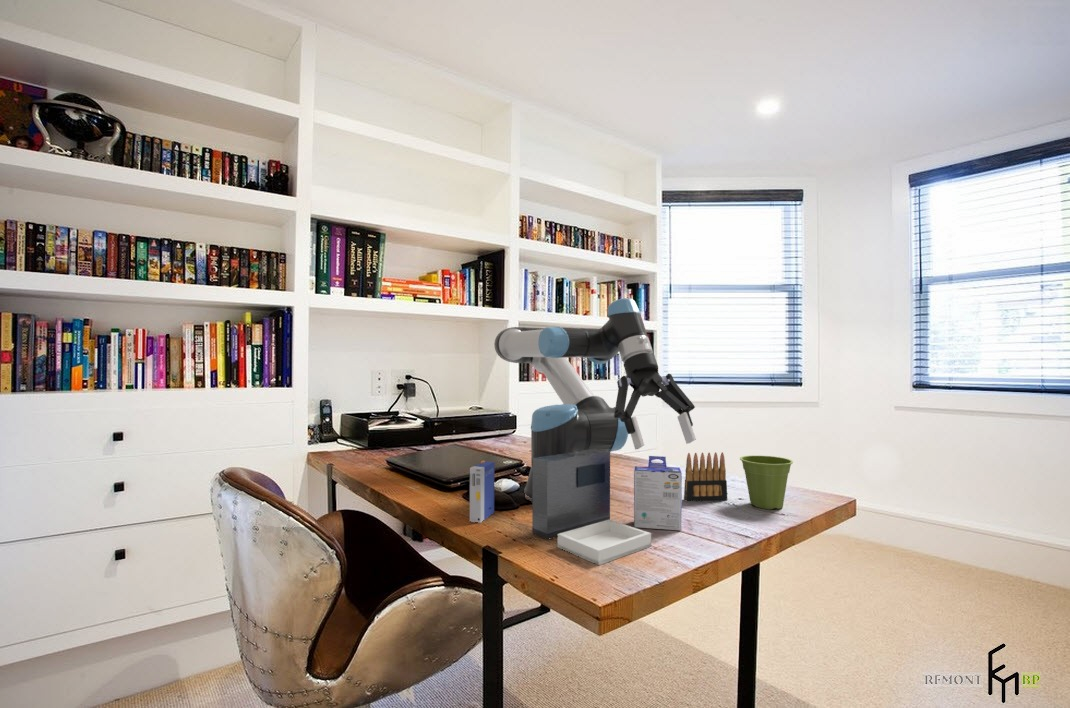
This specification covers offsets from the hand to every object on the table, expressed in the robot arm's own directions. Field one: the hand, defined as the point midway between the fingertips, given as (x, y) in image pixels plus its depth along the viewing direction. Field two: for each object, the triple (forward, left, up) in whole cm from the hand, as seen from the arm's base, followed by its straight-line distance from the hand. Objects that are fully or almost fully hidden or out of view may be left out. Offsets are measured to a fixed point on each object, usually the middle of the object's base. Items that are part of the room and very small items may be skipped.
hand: (666, 444), depth 111 cm
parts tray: (+2, -22, -17) cm, 28 cm away
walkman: (-27, -30, -17) cm, 44 cm away
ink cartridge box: (+1, -4, -17) cm, 17 cm away
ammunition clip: (-4, +22, -17) cm, 28 cm away
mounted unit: (-10, -19, -17) cm, 27 cm away
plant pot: (+8, +29, -17) cm, 35 cm away
